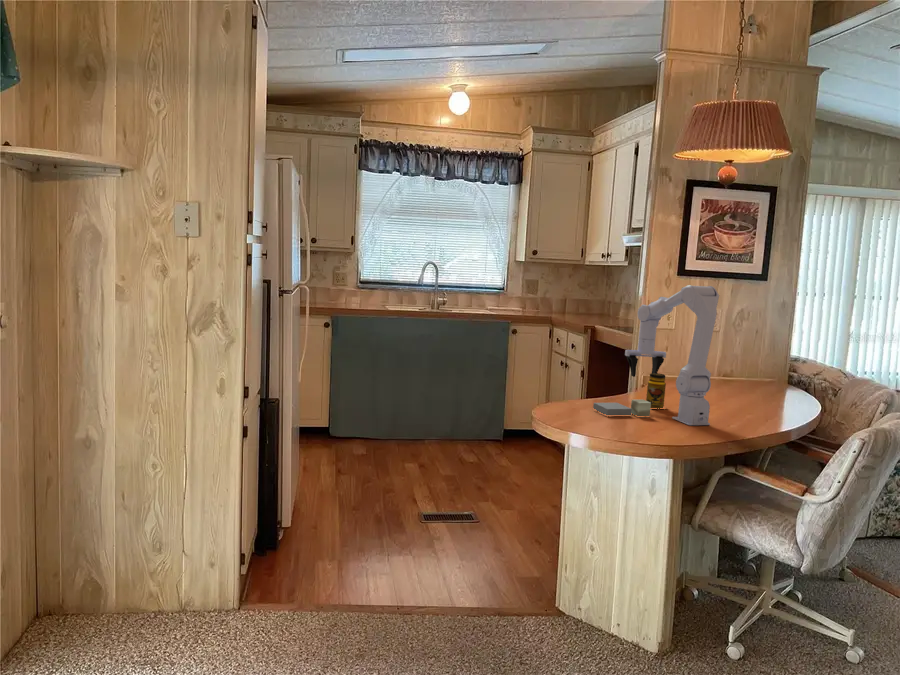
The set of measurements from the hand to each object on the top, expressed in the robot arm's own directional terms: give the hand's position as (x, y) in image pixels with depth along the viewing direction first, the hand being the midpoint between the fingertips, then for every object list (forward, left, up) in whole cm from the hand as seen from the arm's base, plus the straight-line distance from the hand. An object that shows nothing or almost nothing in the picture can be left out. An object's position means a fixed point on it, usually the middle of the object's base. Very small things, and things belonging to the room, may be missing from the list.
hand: (643, 376), depth 242 cm
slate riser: (-13, +20, -10) cm, 26 cm away
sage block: (-17, +11, -10) cm, 22 cm away
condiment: (-5, -2, -10) cm, 12 cm away
